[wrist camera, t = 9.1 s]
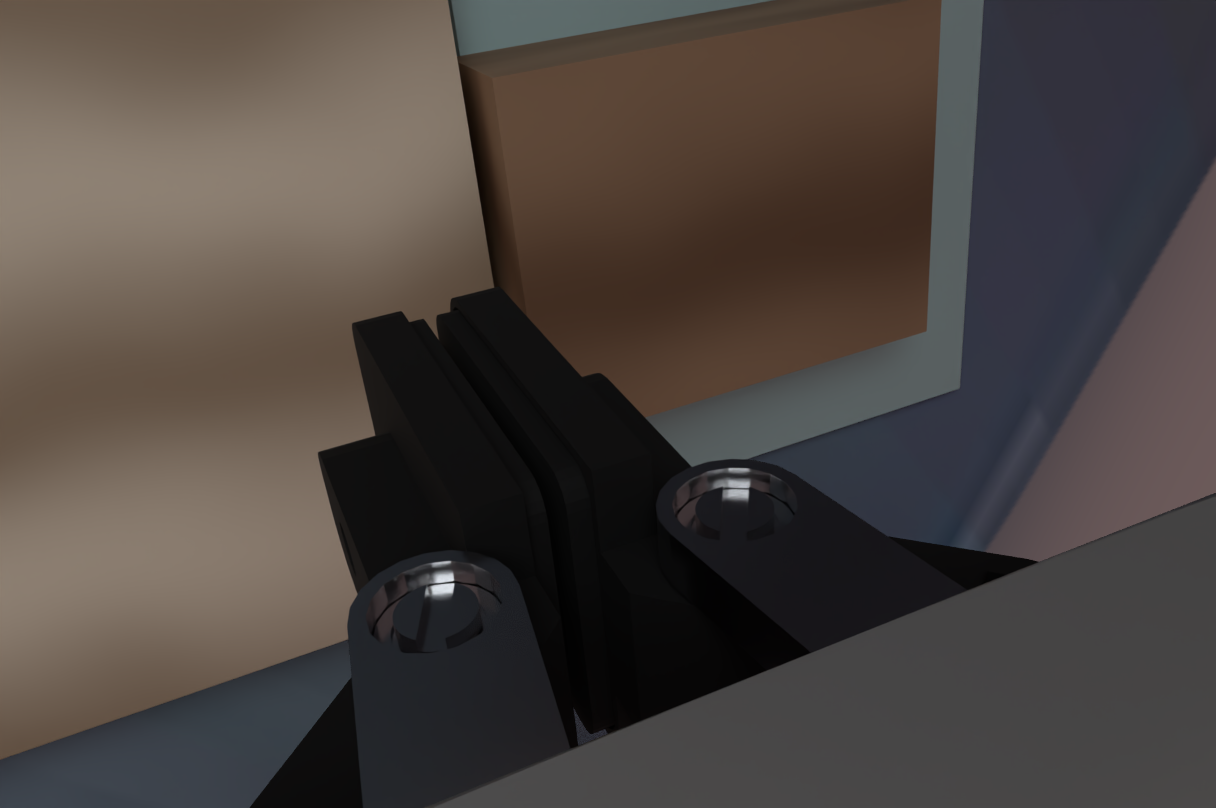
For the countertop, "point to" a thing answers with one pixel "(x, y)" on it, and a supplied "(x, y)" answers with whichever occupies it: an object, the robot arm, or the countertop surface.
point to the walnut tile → (713, 189)
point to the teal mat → (851, 385)
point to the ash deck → (202, 324)
